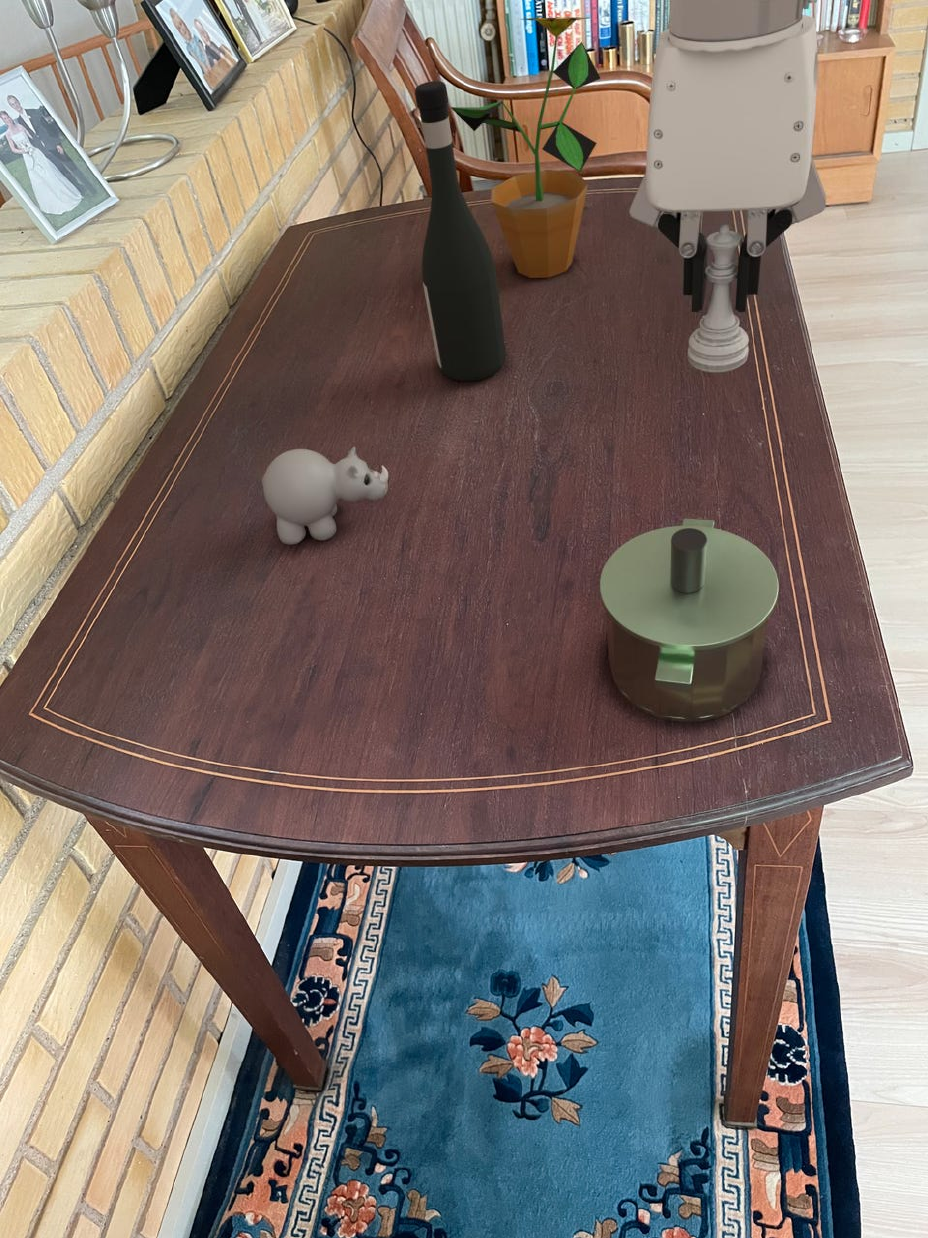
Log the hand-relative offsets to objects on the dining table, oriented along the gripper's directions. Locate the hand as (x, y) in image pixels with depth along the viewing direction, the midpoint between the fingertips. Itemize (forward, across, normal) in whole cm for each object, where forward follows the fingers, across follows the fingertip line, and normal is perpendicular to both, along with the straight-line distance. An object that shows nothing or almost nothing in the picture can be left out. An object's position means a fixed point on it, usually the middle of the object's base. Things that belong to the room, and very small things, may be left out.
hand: (720, 300), depth 66 cm
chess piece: (+5, 0, 0) cm, 5 cm away
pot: (+22, 0, +15) cm, 27 cm away
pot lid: (+14, 0, +15) cm, 21 cm away
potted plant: (+22, +27, -53) cm, 64 cm away
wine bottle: (+22, +30, -27) cm, 46 cm away
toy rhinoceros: (+22, +35, +2) cm, 42 cm away
